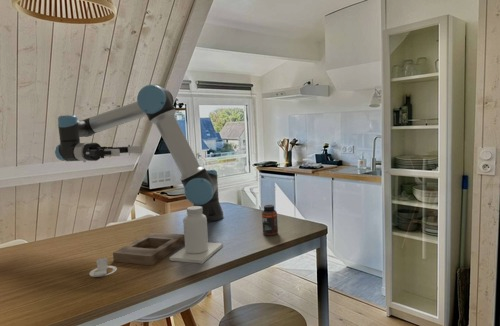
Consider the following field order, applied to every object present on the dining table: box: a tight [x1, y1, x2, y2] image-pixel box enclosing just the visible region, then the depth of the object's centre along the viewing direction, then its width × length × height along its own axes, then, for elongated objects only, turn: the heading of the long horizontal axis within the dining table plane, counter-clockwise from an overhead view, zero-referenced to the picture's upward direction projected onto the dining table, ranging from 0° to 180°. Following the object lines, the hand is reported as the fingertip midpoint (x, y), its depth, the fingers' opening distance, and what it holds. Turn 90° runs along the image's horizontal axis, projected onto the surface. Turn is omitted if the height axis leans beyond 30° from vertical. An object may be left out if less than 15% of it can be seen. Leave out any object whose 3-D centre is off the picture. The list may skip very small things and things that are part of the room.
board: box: [169, 241, 224, 264], centre depth 120 cm, size 16×12×1 cm
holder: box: [112, 231, 185, 266], centre depth 123 cm, size 22×15×3 cm
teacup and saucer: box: [88, 257, 118, 278], centre depth 107 cm, size 9×8×4 cm
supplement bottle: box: [261, 204, 279, 237], centre depth 136 cm, size 6×6×11 cm
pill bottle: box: [183, 206, 209, 254], centre depth 119 cm, size 8×8×15 cm
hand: (130, 150), depth 138 cm, fingers open, 13 cm apart
